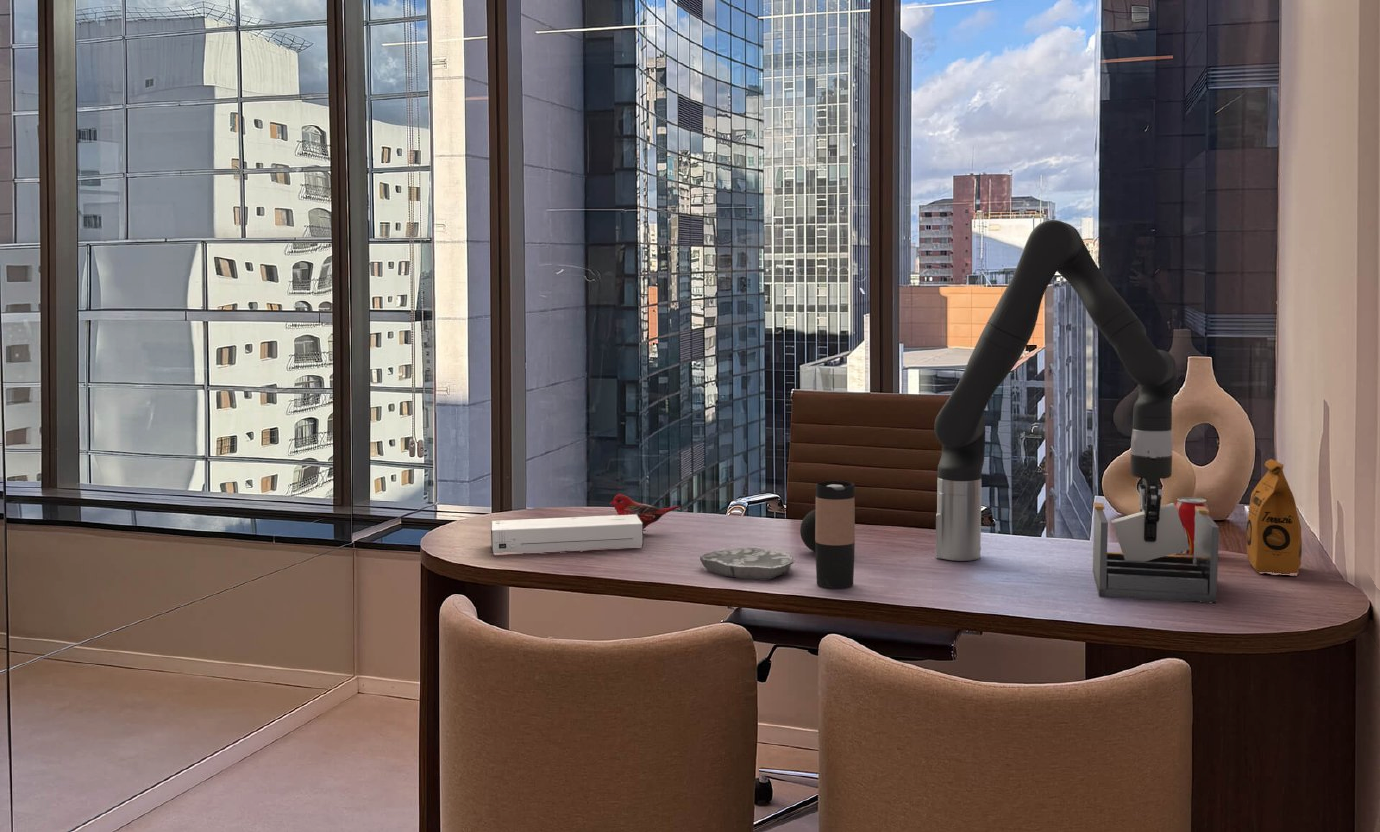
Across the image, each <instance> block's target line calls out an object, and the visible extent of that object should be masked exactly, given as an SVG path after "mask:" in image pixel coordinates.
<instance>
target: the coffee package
mask: <svg viewBox="0 0 1380 832" xmlns="http://www.w3.org/2000/svg"><path fill="white" fill-rule="evenodd" d="M1264 466H1265V468H1266V469H1268V470H1267V472H1266V473H1265V475H1263V477H1262V478H1261V479H1260V480H1259V482H1258V483H1257V485H1256V486H1255V487H1254V489H1253V490H1252V492H1251V494H1250V501H1249V507H1248V512H1247V513H1248V514H1247V521H1246V529H1245V537H1246V538H1245V539H1246V540H1245V541H1246V542H1245V543H1246V545H1245V546H1246V555H1247V560H1248V561H1249V563H1250V565H1251V566H1252V567H1253V569H1254V570H1255V571H1256V572H1257V573H1258V572H1272V573H1273V572H1274V573H1281V574H1290V573H1297V572H1298V571H1299V572H1300V567H1301V565H1302V553H1303V552H1302V551H1303V549H1302V547H1303V546H1302V543H1303V542H1302V525H1301V524H1302V523H1301V522H1300V517H1299V514H1298V510H1297V503H1296V500H1295V497H1294V494H1293V492H1292V489H1291V488H1290V485H1289V483H1288V480H1287V479H1286V477H1285V474H1284V471H1283V470H1284V464H1282V463H1281V462H1279V461H1277V460H1275V459H1271V458H1270V459H1268V460H1267V461H1265V463H1264ZM1299 572H1298V573H1299Z"/></svg>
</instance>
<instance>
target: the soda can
mask: <svg viewBox="0 0 1380 832" xmlns="http://www.w3.org/2000/svg"><path fill="white" fill-rule="evenodd" d="M1207 501H1208V500H1206V499H1205V498H1201V497H1191V496H1186V497H1185V496H1184V497H1178V498H1177V502H1176V503H1175V504H1174V505H1175V507H1176V510H1177V513H1178V516H1179V518H1180V521H1181V524H1182V527H1183V530H1184V533H1185V536H1186V538H1187V541H1188V544H1189V547H1190V549H1189V550H1185V551H1182V552H1178V553H1177V555H1179V554H1180V555H1186V556H1193V558H1194V536H1195V506H1201V507H1206V508H1207V509H1208V510H1209V511H1210V507H1209V505H1208V504H1207ZM1207 514H1208V515H1209V516H1210V512H1209V513H1207Z"/></svg>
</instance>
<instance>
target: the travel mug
mask: <svg viewBox="0 0 1380 832" xmlns="http://www.w3.org/2000/svg"><path fill="white" fill-rule="evenodd" d="M855 506H856V505H855V484H854V483H853V482H850V481H843V480H842V481H841V480H826V481H825V480H824V481H819V482H816V483H815V509H816V522H815V541H816V542H815V547H816V552H815V572H816V575H815V577H816V585H817V586H818V587H820V588H824V589H829V590H842V589H843V590H844V589H849V588H851V587H853V586H854V577H855V576H854V573H855V549H856V548H855V547H856V545H855V544H856V533H855V532H856V531H855V530H856V528H855V527H856V526H855V525H856V522H855V518H856V517H855V516H856V515H855V514H856V512H855V510H856V509H855Z"/></svg>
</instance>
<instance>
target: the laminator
mask: <svg viewBox="0 0 1380 832" xmlns="http://www.w3.org/2000/svg"><path fill="white" fill-rule="evenodd" d="M490 526H491V527H490V538H491V540H490V541H491V553H492V554H493V553H503V552H546V551H565V550H581V549H598V548H618V547H637V546H642V547H643V546H644V533H643V530H644V529H643V522H642V521H641V519H640V518H639V516H638V515H637V514H635V515H618V514H617V515H594V516H592V515H591V516H590V515H589V516H573V517H571V516H570V517H552V518H551V517H548V518H530V519H529V518H528V519H526V518H525V519H524V518H522V519H508V520H507V519H506V520H505V519H504V520H503V519H502V520H491V521H490Z"/></svg>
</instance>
